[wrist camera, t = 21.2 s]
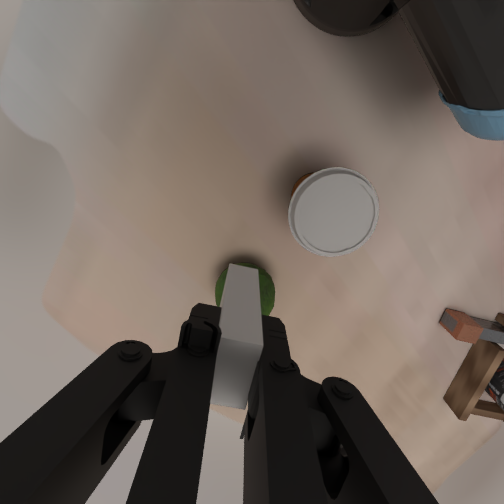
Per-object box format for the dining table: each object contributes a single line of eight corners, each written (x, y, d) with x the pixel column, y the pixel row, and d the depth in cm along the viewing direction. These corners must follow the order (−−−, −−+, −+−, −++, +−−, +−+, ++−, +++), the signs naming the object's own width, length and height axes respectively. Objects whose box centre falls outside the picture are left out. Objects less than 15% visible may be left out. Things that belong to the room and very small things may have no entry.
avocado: (236, 311, 51) (233, 361, 39) (208, 269, 49) (196, 311, 37) (282, 286, 50) (292, 331, 38) (255, 243, 47) (258, 277, 36)
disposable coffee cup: (363, 199, 45) (401, 220, 34) (308, 243, 47) (326, 277, 36) (321, 143, 43) (347, 146, 32) (264, 192, 45) (270, 212, 34)
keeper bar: (446, 308, 51) (464, 324, 47) (529, 328, 52) (553, 345, 48) (439, 323, 52) (456, 339, 47) (520, 342, 53) (543, 359, 49)
